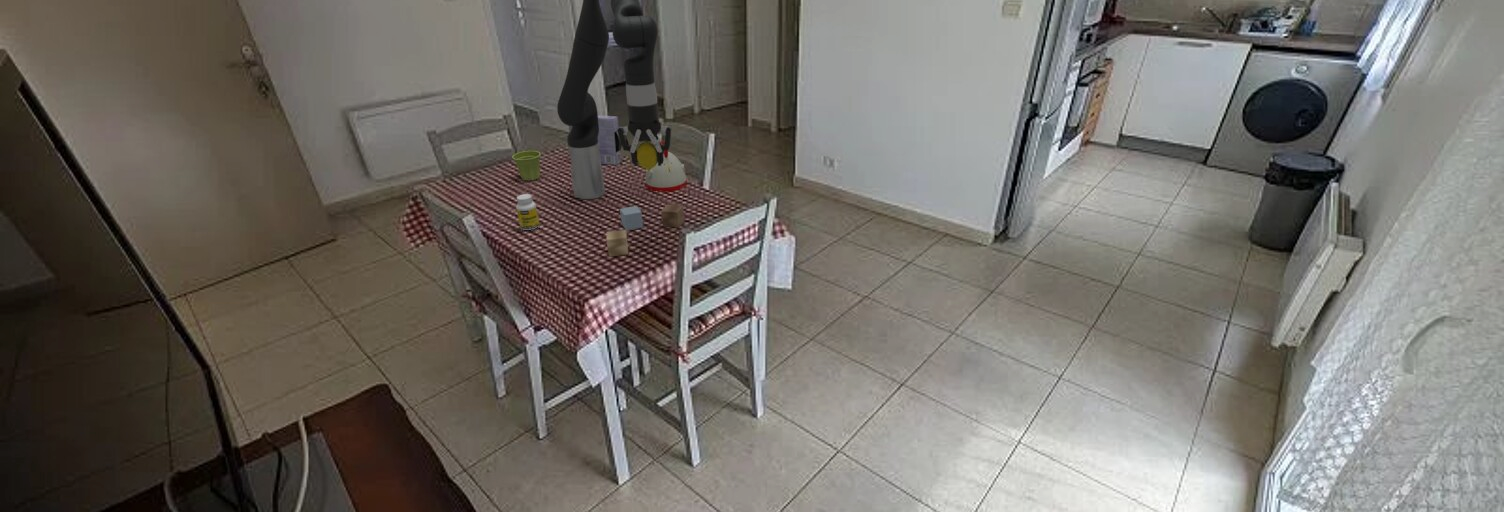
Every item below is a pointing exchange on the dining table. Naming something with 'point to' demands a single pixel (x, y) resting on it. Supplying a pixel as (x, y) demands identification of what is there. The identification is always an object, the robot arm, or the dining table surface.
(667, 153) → the kitchen timer
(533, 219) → the supplement bottle
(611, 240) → the block oak
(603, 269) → the dining table surface
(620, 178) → the dining table surface
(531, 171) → the plant pot
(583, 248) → the dining table surface
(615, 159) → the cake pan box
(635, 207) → the block slate
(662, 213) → the block walnut
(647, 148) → the lemon
